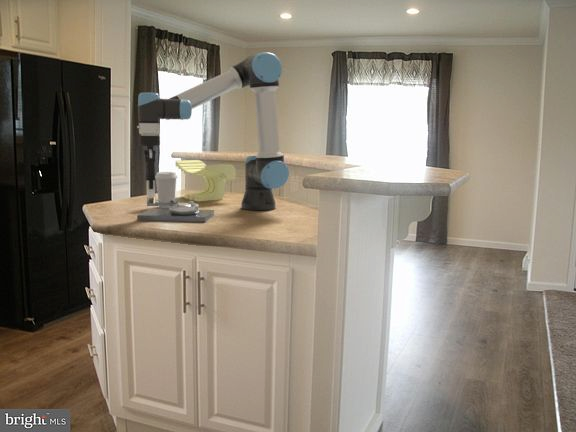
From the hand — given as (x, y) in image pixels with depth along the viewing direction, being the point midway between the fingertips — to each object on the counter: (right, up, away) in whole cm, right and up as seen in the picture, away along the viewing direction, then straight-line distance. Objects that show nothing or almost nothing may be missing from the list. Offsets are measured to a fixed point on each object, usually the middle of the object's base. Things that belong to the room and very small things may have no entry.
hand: (150, 196), depth 208 cm
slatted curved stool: (+12, +1, +61) cm, 62 cm away
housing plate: (+9, -8, +6) cm, 13 cm away
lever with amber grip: (+8, -6, +4) cm, 11 cm away
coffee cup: (-1, -4, +31) cm, 32 cm away
